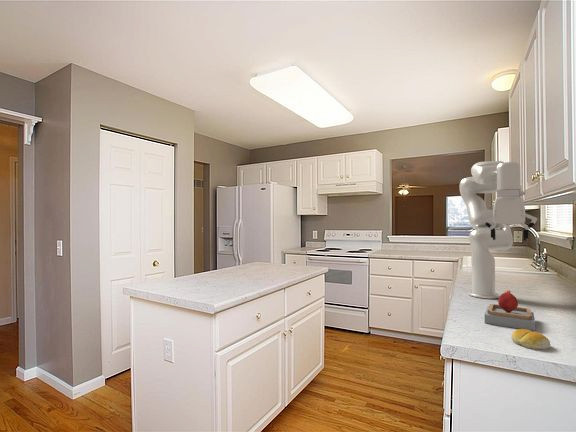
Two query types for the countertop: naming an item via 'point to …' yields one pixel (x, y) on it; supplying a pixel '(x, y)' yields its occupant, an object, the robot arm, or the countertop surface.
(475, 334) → the countertop surface
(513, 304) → the pomegranate
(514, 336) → the bread roll
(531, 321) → the stand
